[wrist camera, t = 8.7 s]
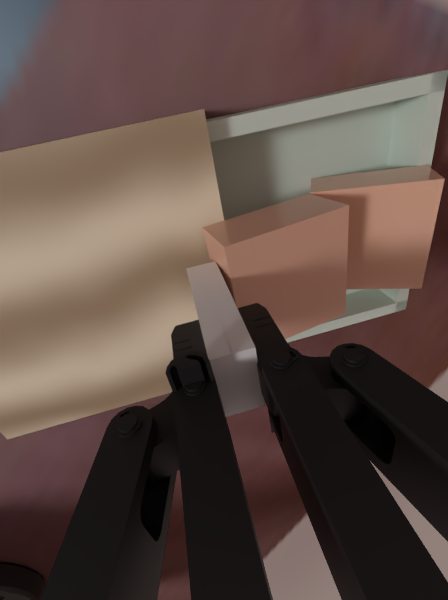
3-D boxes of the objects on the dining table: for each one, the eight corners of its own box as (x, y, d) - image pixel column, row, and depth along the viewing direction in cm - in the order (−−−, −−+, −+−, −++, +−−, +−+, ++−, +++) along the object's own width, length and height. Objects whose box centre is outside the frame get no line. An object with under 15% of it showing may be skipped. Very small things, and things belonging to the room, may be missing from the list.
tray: (379, 289, 24) (405, 309, 22) (235, 328, 23) (246, 354, 21) (403, 76, 17) (448, 70, 14) (194, 122, 16) (202, 122, 13)
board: (236, 333, 24) (251, 369, 20) (28, 391, 22) (7, 439, 19) (192, 110, 16) (204, 109, 12) (-136, 180, 14) (-222, 199, 11)
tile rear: (311, 289, 19) (312, 266, 21) (421, 288, 17) (409, 263, 20) (310, 192, 16) (311, 178, 18) (444, 178, 14) (426, 164, 16)
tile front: (313, 290, 19) (345, 313, 17) (225, 324, 18) (246, 355, 15) (309, 193, 16) (349, 205, 13) (202, 227, 15) (224, 247, 12)
